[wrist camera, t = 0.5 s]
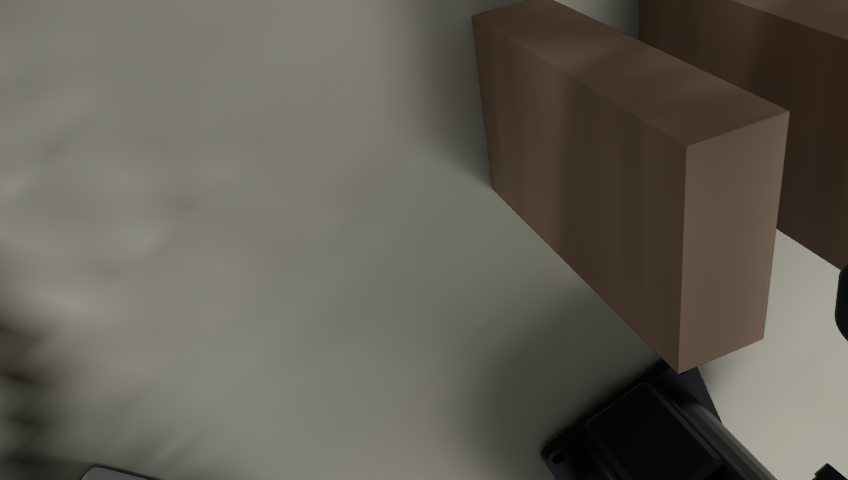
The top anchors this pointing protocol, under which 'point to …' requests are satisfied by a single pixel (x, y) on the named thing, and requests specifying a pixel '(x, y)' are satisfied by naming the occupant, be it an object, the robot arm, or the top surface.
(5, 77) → the top surface
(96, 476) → the hard drive box
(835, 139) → the domino
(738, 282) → the domino
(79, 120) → the top surface
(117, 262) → the top surface
